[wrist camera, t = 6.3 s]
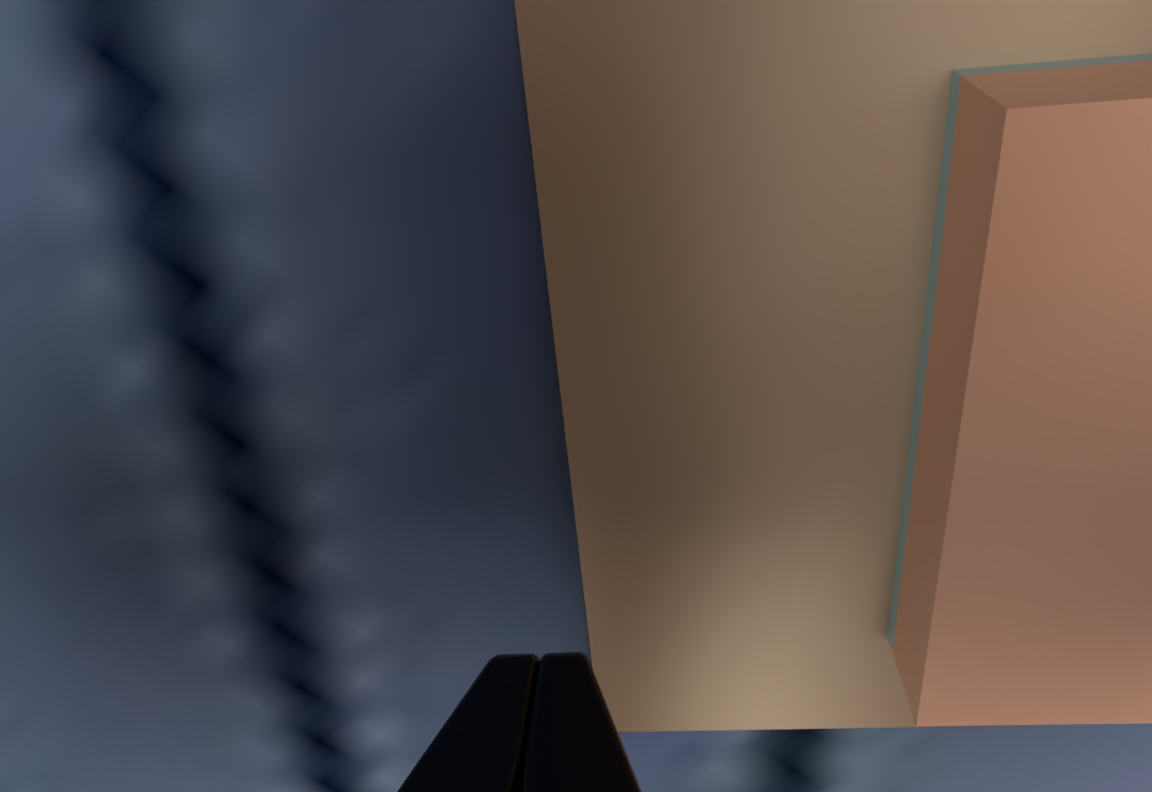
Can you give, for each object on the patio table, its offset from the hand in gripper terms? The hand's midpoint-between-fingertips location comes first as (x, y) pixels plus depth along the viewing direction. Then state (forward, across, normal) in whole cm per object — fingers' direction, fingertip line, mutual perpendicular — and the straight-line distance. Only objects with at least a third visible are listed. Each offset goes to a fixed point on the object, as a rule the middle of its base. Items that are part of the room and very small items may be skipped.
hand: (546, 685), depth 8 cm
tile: (+3, -4, 0) cm, 5 cm away
